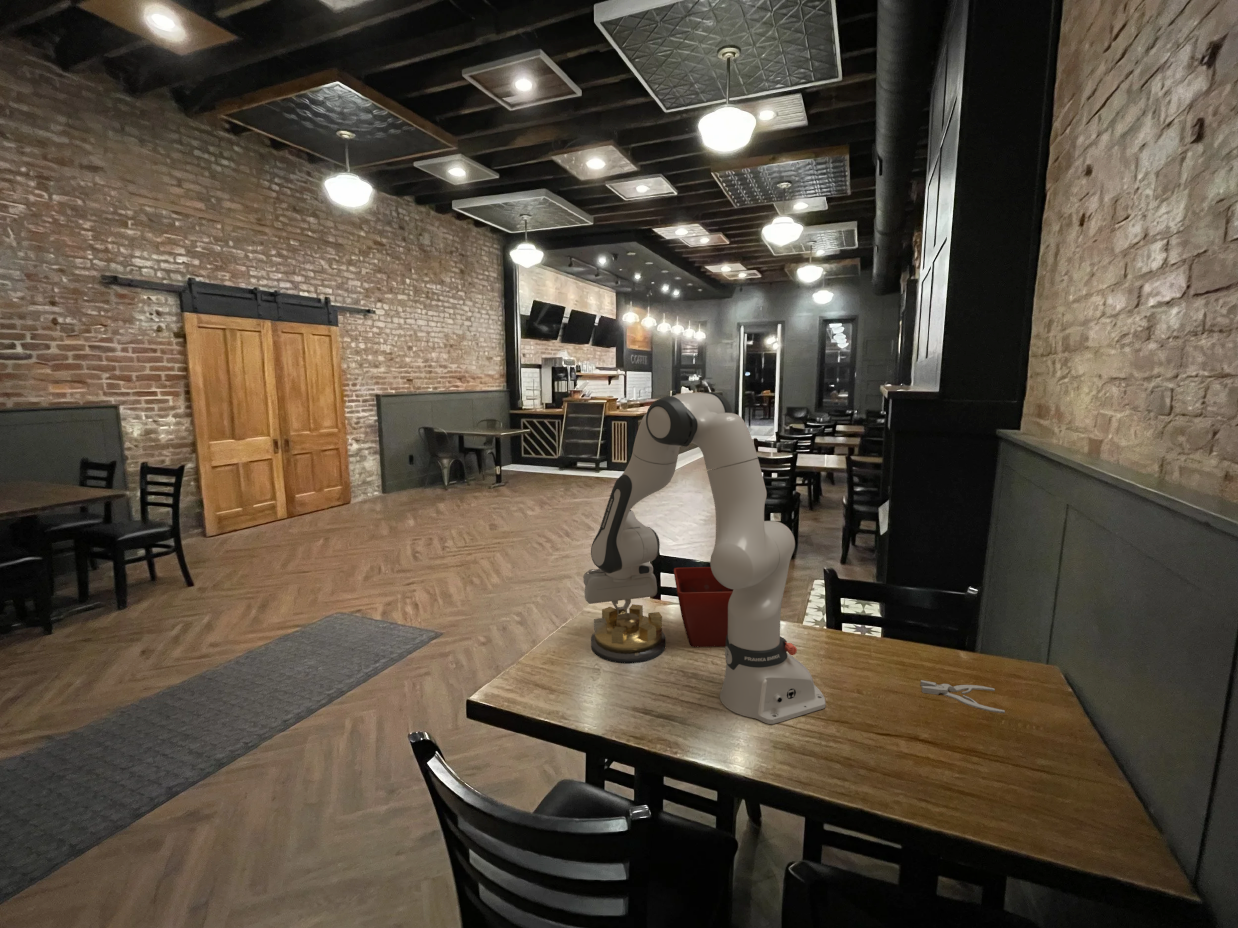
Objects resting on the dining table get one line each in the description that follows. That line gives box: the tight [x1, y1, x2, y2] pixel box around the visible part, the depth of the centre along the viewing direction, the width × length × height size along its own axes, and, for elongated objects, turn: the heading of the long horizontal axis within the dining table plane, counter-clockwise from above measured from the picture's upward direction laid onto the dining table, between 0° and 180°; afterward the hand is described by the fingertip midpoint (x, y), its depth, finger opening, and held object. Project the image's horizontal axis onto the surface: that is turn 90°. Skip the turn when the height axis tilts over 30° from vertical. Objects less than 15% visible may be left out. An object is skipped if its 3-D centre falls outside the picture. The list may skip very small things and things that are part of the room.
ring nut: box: [593, 603, 663, 653], centre depth 150 cm, size 18×18×6 cm
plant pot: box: [673, 566, 733, 648], centre depth 153 cm, size 19×19×17 cm
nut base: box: [590, 631, 667, 664], centre depth 151 cm, size 20×20×2 cm
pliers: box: [920, 679, 1006, 714], centre depth 124 cm, size 10×2×15 cm
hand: (621, 614), depth 157 cm, fingers closed
